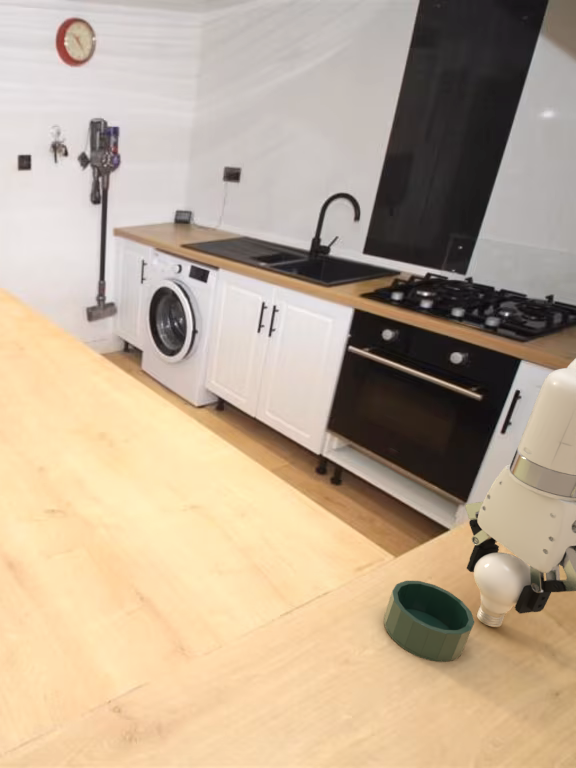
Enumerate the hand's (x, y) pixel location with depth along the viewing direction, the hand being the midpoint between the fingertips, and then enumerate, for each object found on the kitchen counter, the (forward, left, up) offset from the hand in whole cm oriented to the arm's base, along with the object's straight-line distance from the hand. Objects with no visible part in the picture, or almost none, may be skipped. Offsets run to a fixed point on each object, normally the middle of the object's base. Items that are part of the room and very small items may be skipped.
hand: (501, 588), depth 70 cm
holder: (+10, +2, -6) cm, 12 cm away
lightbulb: (0, 0, -6) cm, 6 cm away
